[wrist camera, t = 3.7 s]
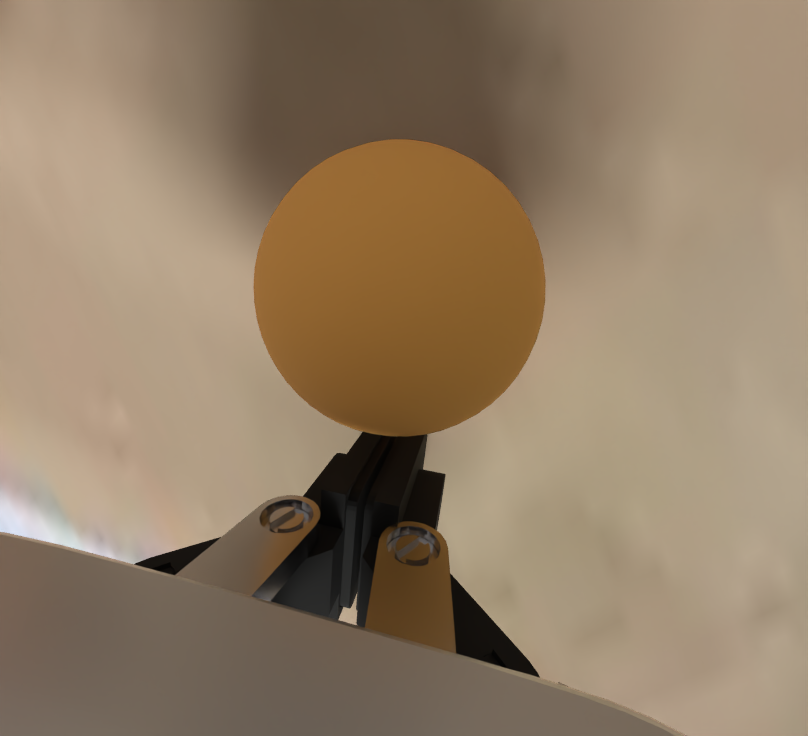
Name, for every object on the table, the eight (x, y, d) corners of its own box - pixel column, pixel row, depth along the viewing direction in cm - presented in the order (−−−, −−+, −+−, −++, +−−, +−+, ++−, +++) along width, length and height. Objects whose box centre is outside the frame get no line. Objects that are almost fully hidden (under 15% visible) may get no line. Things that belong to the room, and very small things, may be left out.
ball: (331, 168, 11) (164, 63, 5) (549, 188, 10) (638, 88, 4) (319, 369, 13) (184, 455, 7) (504, 402, 12) (525, 535, 6)
